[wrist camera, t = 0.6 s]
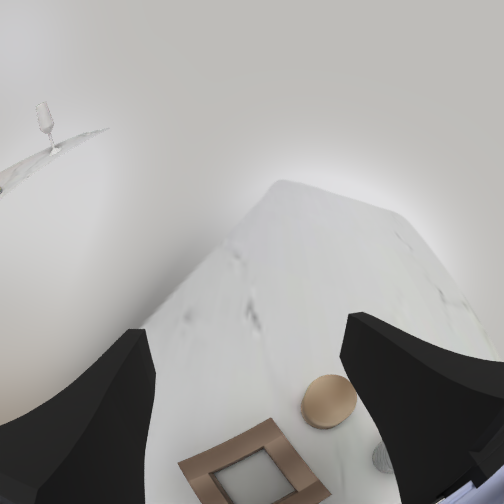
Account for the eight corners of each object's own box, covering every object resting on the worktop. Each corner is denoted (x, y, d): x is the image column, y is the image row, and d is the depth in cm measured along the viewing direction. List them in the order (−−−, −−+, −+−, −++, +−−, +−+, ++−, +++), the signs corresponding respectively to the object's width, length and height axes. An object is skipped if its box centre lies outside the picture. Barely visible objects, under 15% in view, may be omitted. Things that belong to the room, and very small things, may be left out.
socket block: (325, 492, 17) (331, 494, 15) (235, 539, 14) (232, 545, 12) (270, 422, 23) (270, 417, 21) (185, 464, 20) (177, 462, 18)
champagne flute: (49, 157, 88) (33, 107, 71) (48, 154, 92) (33, 107, 75) (62, 149, 91) (48, 100, 75) (61, 147, 95) (47, 100, 78)
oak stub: (356, 410, 23) (366, 401, 21) (318, 438, 22) (325, 433, 19) (328, 377, 26) (335, 365, 24) (291, 402, 25) (294, 393, 22)
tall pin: (414, 453, 18) (465, 436, 12) (387, 480, 17) (433, 475, 11) (393, 430, 21) (438, 405, 15) (365, 455, 19) (404, 442, 13)
